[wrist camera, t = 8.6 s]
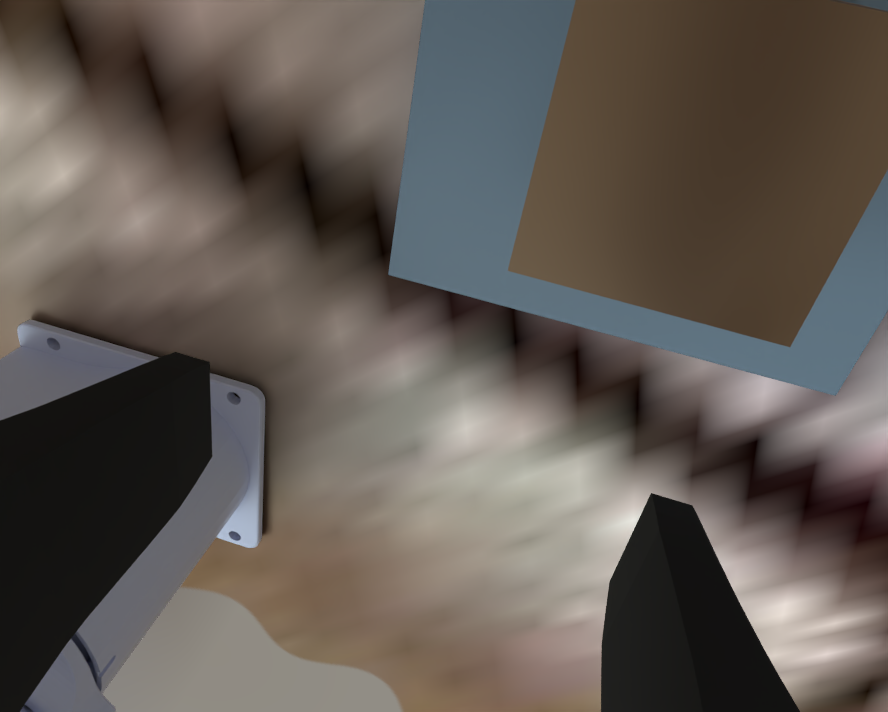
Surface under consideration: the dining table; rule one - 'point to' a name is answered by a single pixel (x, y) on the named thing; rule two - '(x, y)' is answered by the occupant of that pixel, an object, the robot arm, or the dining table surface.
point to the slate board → (507, 181)
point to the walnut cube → (709, 156)
